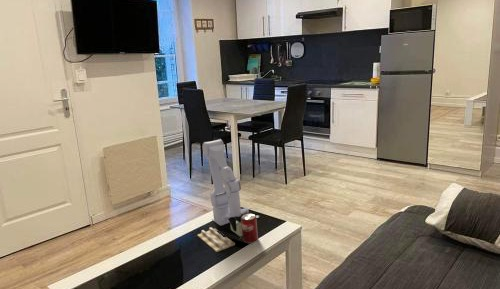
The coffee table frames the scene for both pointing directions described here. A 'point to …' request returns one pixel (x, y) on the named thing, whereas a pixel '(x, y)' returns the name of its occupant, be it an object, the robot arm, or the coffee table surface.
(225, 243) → the door track
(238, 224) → the door panel
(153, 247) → the coffee table surface
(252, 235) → the soda can
